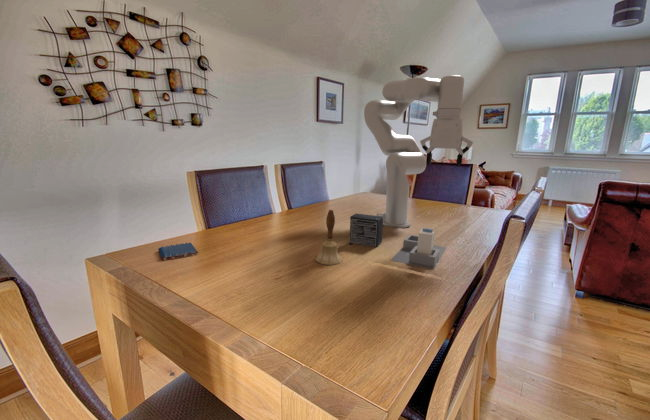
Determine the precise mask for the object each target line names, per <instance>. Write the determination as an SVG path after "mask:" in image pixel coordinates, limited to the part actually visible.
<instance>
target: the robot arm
mask: <svg viewBox="0 0 650 420" xmlns="http://www.w3.org/2000/svg"><path fill="white" fill-rule="evenodd" d="M464 84H465V78H464V77H463V76H462V75H459V74H458V75H457V74H452V75H450V74H449V75H446V76H443V77H441V78H433V77H421V76H420V77H410V78H406V79H397V80H391V81H387V83H385V85H383V88H382V90H381V91H382V92H381V93H382V96H383V98H384V99H372V100H369V101H368V102H367V103H366V104H365V106H364V109H363V110H364V111H363V116H364V121H365V124H366V125H365V126H367V128H368V129H369V131H370V133H372V135H373V136H374V138H375V140H376V142H377V144H378V147H379V148H380V150H381V152H382V154H383V155H384V156H387V158H386V161H385V168H386V178H387V179H386V181H387V183H386V195H385V196H386V198H385V211H384V213H382V212H377V213H376V215H375V216H383V226H384V227H388V228H389V227H390V228H396V229H404V228H405V229H406V228H409V227H410V226H411V222H410V221H409V220H408V212H409V211H408V210H409V197H410V182H409V179H408V177H407V175H419V174H421V173H423V172H424V171H425V170H426V167H427V166H428V165H429V166H430V165H431V164H432V161H433V153H432V151H433V150H435V149H445V150H447V149H450V150H452V149H453V150H454V149H455V150H456V151H457V152H458V154H457V156H456V157H457V158H456V167H460V166H461V165H462V163H463V157H464V154H465V153H466V152H468V151H469V150H470V148H471V147H472V146H473V144H474V142H473V141H472V140H471V139H469V138H467V137H465V136H463V119H462V118H461V113H462V105H463V104H462V103H463V96H464V95H463V93H464V86H465V85H464ZM414 101H421V102H423V101H424V102H436V103H437V109H436V110H435V111H433V112H432V116H435V117H436V118H434V119H433V122H432V125H431V131H430V135H429V136H427V137H424V138H423V139H421V140H420V141H419V142H420V145H421V147H422V149H421V147H420V146H419V144H418V142H417V140H416V139H415V138H414V137H412V136H411V135H410V134H397V133H395V131H394V130H393V128H392V126H391V124H389V123H388V122H387V120H391V121H395V120H398V119H400V118H401V116H403V115H404V113H405V112H406V110H407V109H409V107H411V104H412V103H413V102H414ZM427 142H429V147H428V146H427V144H426V143H427ZM463 142H464V143H465V144H466V146H465V147H464V148H462V144H463ZM422 150H423V151H424V152H425V153H426V156H425V155H424V153H423V151H422Z"/></svg>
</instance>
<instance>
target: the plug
mask: <svg viewBox="0 0 650 420" xmlns="http://www.w3.org/2000/svg"><path fill="white" fill-rule="evenodd" d="M433 230H434V229H433V228H428V227H423V228H422V229H421V230H420V231H419V232H418V234H417V236H418V245H417V253H421V254H426V255H431V256H432V255H433V245H435V244H434V243H435V234H436V233H435V231H433Z"/></svg>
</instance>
